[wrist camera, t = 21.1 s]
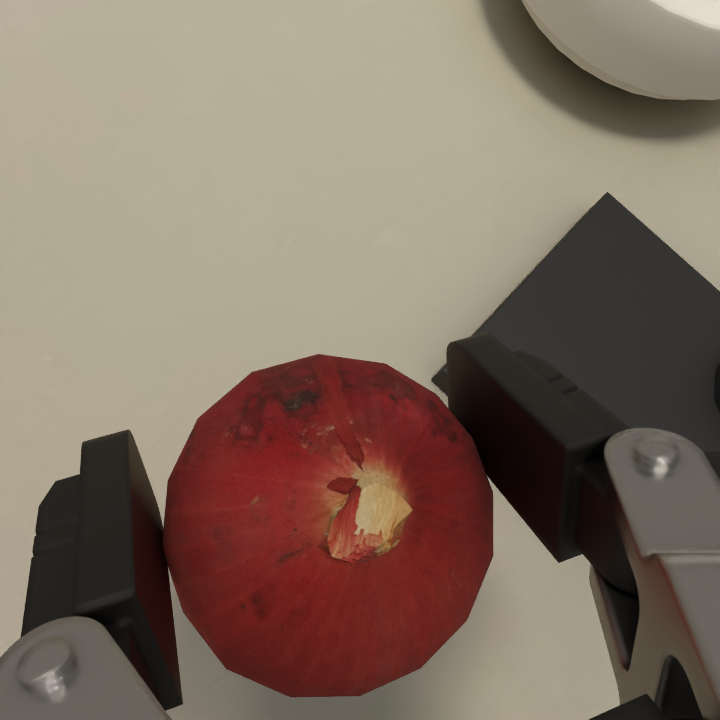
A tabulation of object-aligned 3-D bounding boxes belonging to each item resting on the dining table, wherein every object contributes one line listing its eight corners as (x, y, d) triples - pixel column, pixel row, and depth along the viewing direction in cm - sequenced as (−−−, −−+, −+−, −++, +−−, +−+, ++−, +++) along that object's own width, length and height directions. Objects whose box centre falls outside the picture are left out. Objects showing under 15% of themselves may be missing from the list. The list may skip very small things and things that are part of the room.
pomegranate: (156, 446, 15) (62, 336, 7) (380, 377, 16) (494, 225, 9) (226, 701, 14) (199, 884, 6) (463, 602, 15) (680, 650, 8)
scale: (812, 407, 34) (872, 392, 31) (679, 614, 30) (732, 622, 27) (590, 208, 35) (625, 174, 32) (430, 379, 31) (452, 360, 28)
